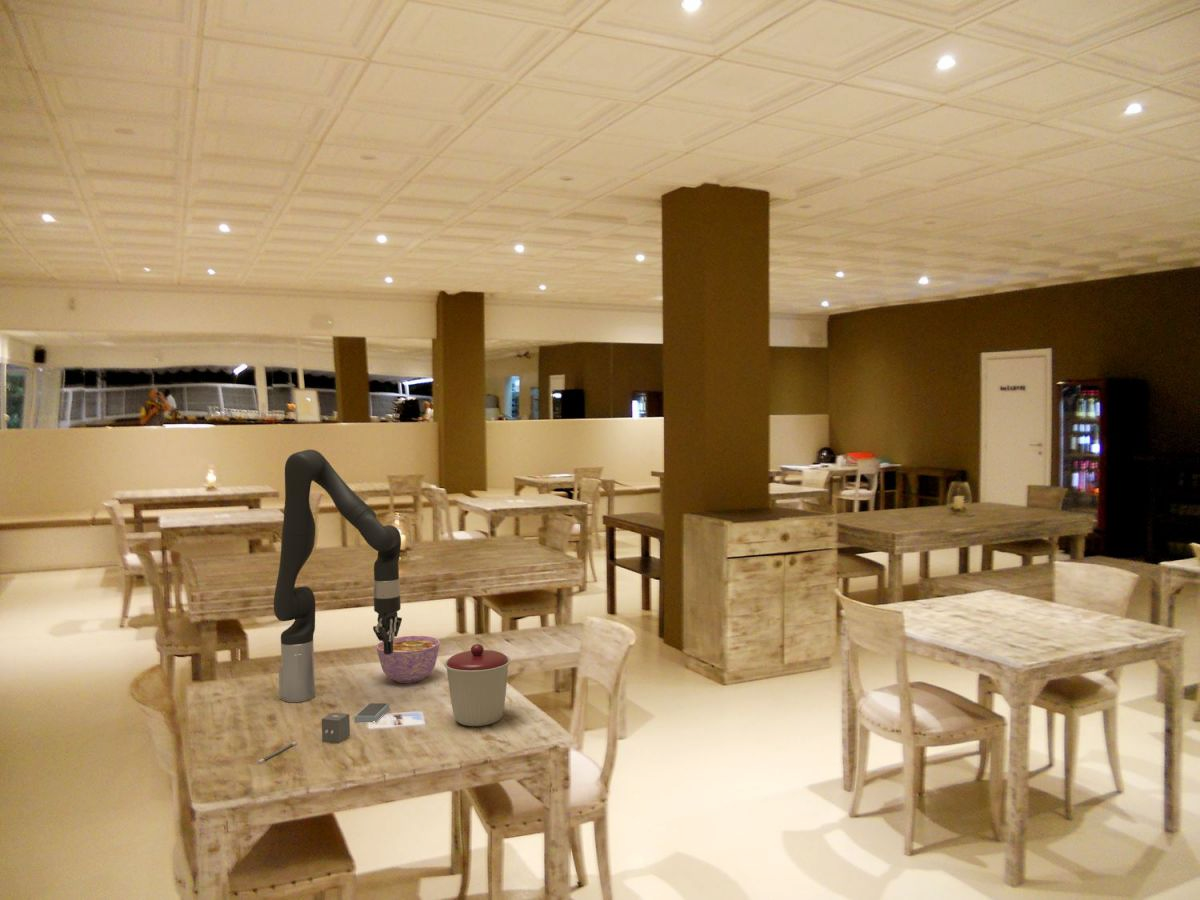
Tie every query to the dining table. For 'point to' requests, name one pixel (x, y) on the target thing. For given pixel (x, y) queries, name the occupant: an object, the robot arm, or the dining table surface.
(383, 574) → the robot arm
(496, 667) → the canister
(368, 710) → the phone
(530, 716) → the dining table surface
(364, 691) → the dining table surface
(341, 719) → the charger
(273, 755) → the cable
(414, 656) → the bowl of food
